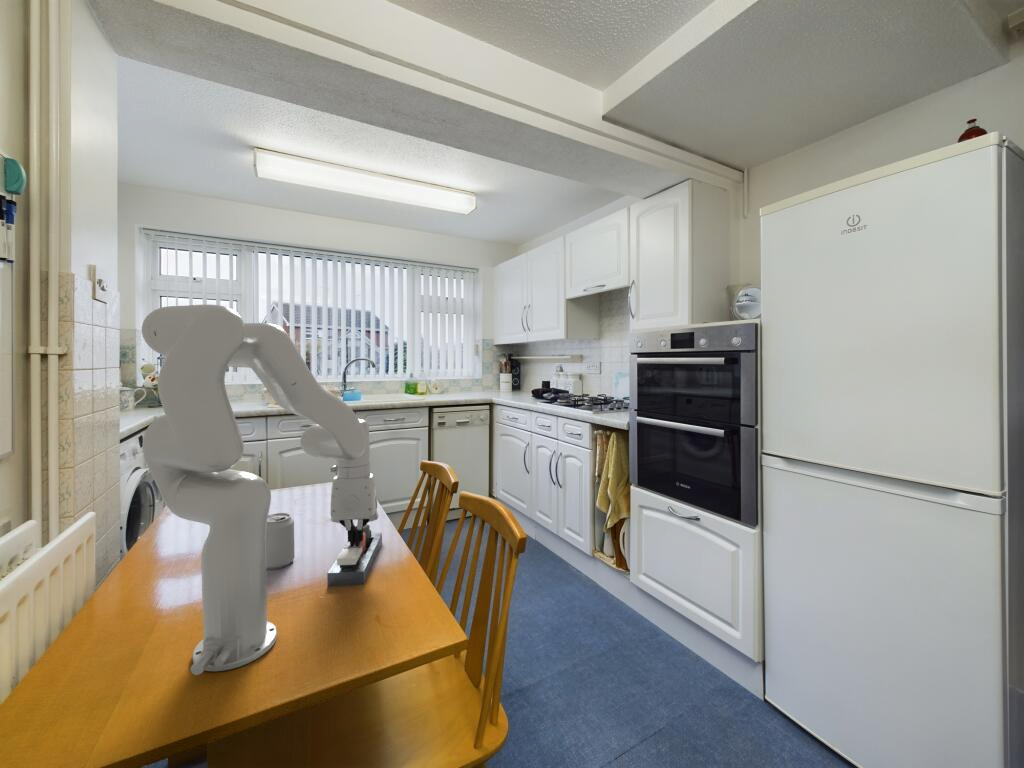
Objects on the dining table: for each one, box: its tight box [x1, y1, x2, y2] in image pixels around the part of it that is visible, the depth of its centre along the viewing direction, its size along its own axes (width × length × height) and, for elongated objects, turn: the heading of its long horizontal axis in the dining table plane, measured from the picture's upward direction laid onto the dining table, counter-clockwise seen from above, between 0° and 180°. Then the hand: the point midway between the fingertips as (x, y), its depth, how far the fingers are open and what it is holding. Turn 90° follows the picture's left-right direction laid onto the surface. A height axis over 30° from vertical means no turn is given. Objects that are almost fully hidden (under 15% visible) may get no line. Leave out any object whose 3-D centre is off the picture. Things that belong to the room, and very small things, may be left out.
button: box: [354, 532, 367, 554], centre depth 110 cm, size 4×4×4 cm
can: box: [266, 512, 295, 570], centre depth 108 cm, size 8×8×12 cm
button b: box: [355, 523, 371, 546], centre depth 115 cm, size 4×4×4 cm
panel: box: [326, 529, 383, 587], centre depth 109 cm, size 22×8×4 cm, turn 6°
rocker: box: [336, 545, 362, 565], centre depth 102 cm, size 7×4×2 cm, turn 6°
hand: (355, 543), depth 106 cm, fingers closed
